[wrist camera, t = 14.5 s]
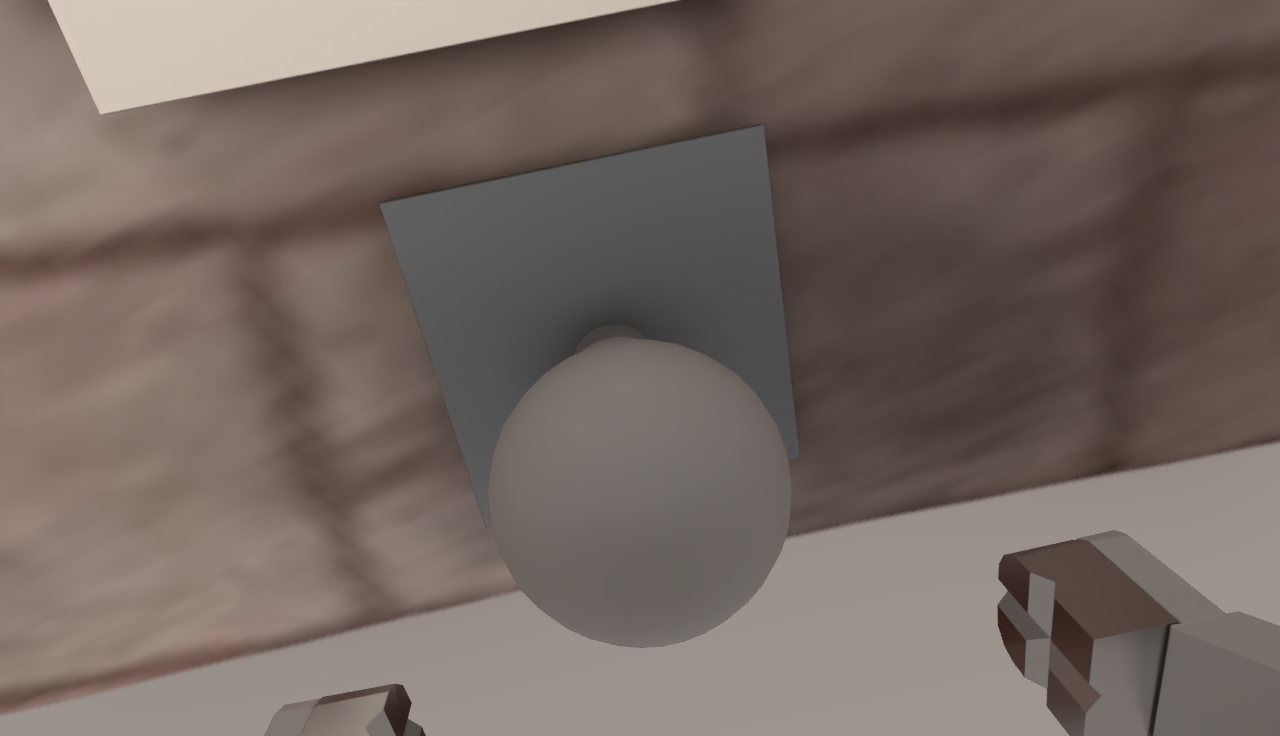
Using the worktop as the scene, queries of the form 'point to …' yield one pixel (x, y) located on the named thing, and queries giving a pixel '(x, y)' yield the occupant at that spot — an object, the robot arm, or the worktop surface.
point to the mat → (596, 274)
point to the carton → (277, 38)
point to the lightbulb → (639, 491)
